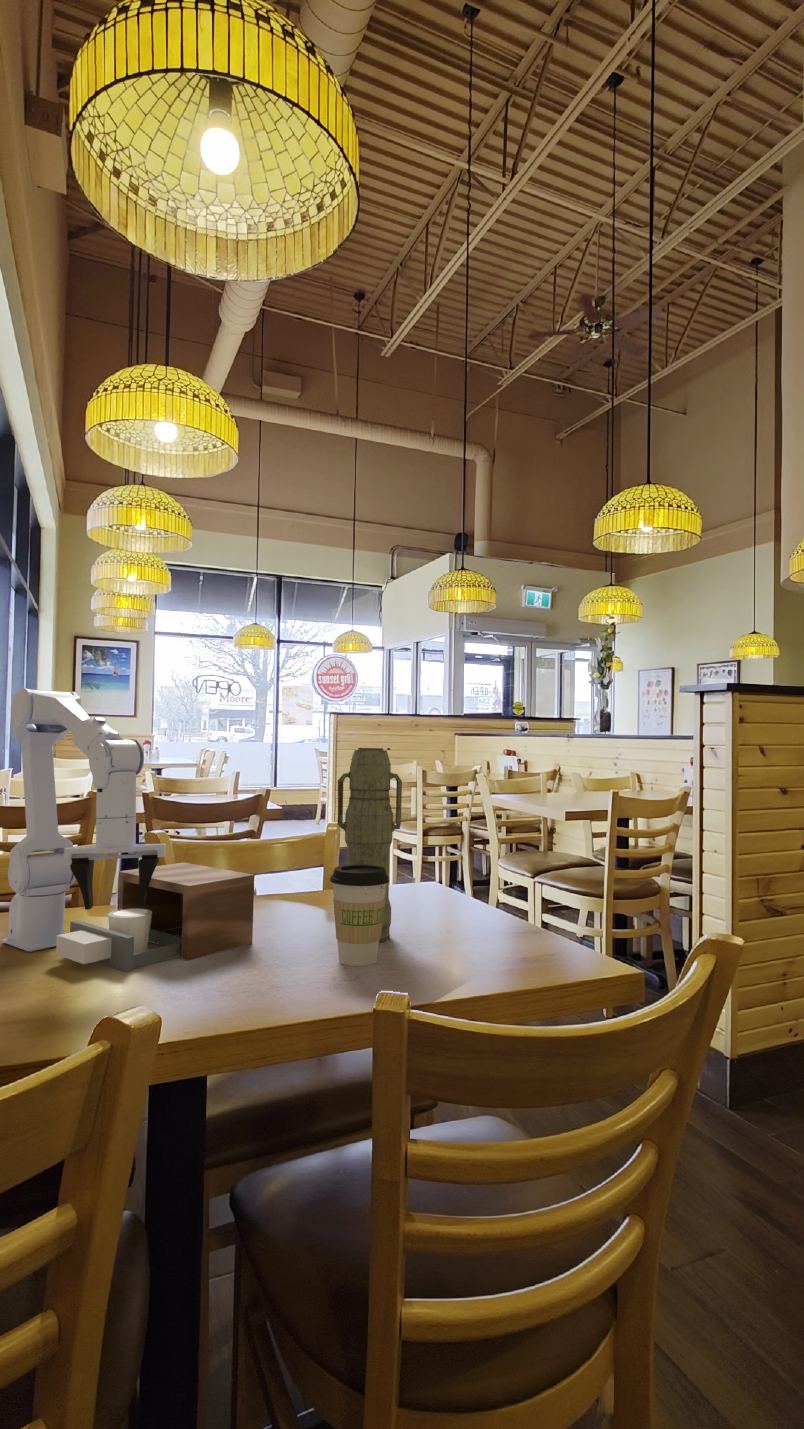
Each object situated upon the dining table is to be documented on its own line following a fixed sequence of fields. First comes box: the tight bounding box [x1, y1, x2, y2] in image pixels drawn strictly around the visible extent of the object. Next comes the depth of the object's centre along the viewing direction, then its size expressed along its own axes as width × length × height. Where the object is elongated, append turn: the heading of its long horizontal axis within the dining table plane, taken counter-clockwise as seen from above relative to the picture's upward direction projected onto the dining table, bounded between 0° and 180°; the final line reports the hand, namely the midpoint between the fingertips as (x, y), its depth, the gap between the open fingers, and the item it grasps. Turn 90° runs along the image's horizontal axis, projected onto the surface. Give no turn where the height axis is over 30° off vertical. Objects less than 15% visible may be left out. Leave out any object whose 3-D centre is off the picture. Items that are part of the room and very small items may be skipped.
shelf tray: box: [55, 919, 182, 972], centre depth 119 cm, size 16×18×5 cm
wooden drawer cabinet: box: [116, 862, 255, 961], centre depth 129 cm, size 20×14×12 cm
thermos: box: [336, 747, 403, 944], centre depth 135 cm, size 9×12×35 cm
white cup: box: [107, 908, 152, 953], centre depth 120 cm, size 7×7×7 cm
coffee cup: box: [329, 864, 390, 967], centre depth 120 cm, size 10×10×15 cm
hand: (115, 906), depth 111 cm, fingers open, 7 cm apart
